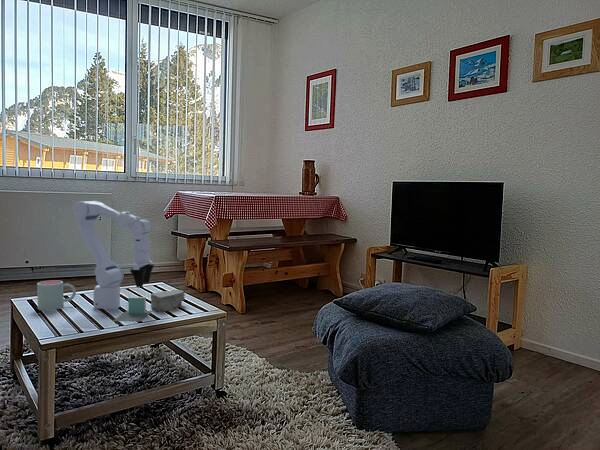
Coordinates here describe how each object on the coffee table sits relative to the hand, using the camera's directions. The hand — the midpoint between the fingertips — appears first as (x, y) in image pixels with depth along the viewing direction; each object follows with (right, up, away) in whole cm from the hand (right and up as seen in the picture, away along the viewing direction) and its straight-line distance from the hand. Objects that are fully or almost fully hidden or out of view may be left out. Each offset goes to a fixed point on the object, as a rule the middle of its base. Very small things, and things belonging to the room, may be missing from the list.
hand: (142, 284), depth 188 cm
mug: (-36, -10, +4) cm, 37 cm away
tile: (-1, -10, -4) cm, 11 cm away
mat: (-1, -11, -8) cm, 14 cm away
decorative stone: (+8, -11, +5) cm, 14 cm away
